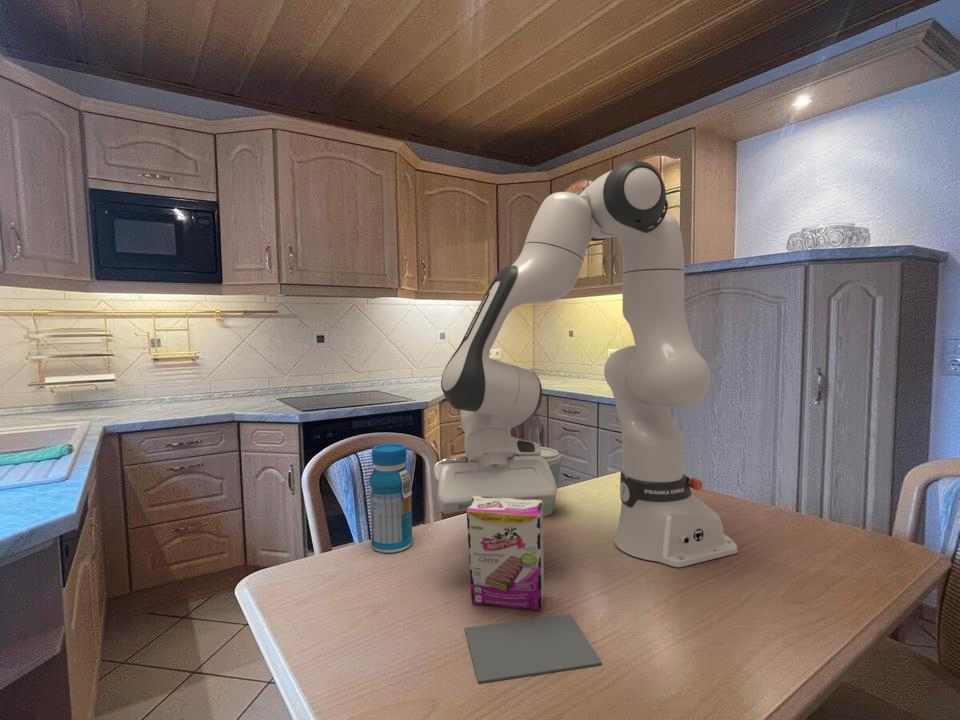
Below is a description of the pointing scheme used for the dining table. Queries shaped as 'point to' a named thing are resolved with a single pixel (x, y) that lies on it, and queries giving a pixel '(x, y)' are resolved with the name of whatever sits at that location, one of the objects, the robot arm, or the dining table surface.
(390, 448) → the beverage bottle
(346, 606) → the dining table surface
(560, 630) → the mat
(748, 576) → the dining table surface
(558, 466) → the disposable coffee cup
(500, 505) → the candy bar box
